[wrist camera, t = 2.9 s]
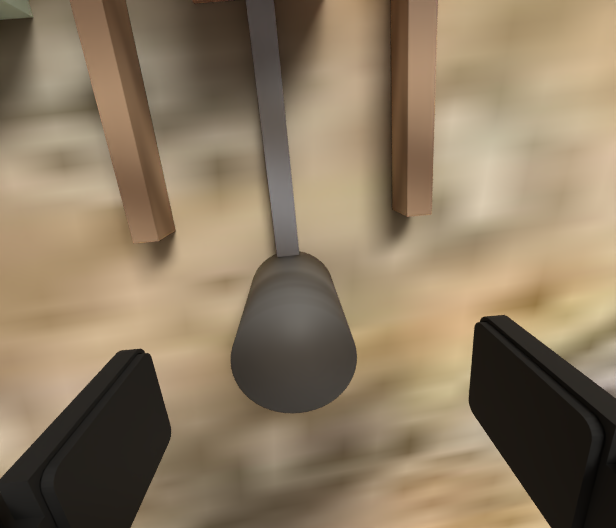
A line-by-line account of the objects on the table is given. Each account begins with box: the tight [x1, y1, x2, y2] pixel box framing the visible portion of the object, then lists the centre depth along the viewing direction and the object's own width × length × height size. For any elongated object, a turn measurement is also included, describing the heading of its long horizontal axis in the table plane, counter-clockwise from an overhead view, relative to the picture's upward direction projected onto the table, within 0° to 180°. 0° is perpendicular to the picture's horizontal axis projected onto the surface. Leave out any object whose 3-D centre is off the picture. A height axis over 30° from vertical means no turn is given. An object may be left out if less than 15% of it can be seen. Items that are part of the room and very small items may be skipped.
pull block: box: [192, 0, 357, 413], centre depth 11 cm, size 19×5×6 cm, turn 5°
